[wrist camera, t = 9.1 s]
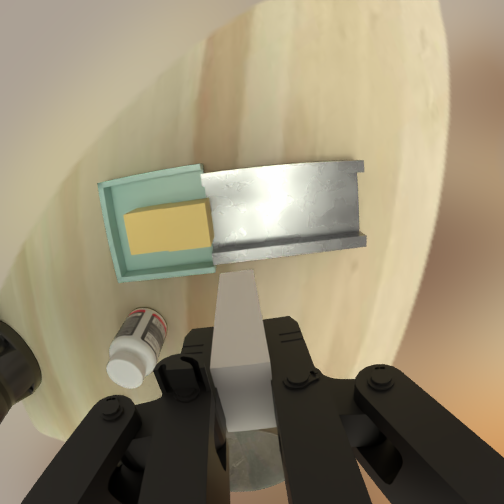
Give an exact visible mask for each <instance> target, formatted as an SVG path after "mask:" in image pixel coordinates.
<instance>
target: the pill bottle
mask: <svg viewBox="0 0 504 504" xmlns="http://www.w3.org/2000/svg"><path fill="white" fill-rule="evenodd" d="M166 334H167V325H166V323H165V321H164V319H163V318H162V316H161V315H160V314H158V313H157V312H156V311H154V310H151V309H148V308H138V309H135V310H133V311H132V312H131V313H130V314H129V315H128V317H127V318H126V320H125V322H124V323H123V325H122V327H121V328H120V330H119V331H118V333H117V335H116V336H115V338H114V340H113V341H112V343H111V345H110V348H109V356H110V359H109V362H108V364H107V373H108V375H109V377H110V378H111V380H112V381H114V382H115V383H116V384H118V385H120V386H122V387H124V388H130V389H131V388H137V387H139V386H140V385H141V384H142V382H143V380H144V377H145V376H147V375H149V374H150V373H151V372H152V371H153V369H154V368H155V366H156V363H157V360H158V357H159V354H160V351H161V348H162V346H163V343H164V340H165V337H166Z"/></svg>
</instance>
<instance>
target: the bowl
mask: <svg viewBox="0 0 504 504" xmlns="http://www.w3.org/2000/svg"><path fill="white" fill-rule="evenodd" d="M226 438H227V441H228V445H229V473H230V491H231V492H232V491H233V492H244V491H255V490H260V489H264V488H268V487H271V486H274V485H276V484H279V483H281V482H283V481H285V478H284V472H283V466H282V460H281V454H280V450H279V441H278V432H277V427H273V428H266V429H258V430H249V431H238V432H228V430H227V427H226Z"/></svg>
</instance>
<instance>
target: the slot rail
mask: <svg viewBox="0 0 504 504" xmlns="http://www.w3.org/2000/svg"><path fill="white" fill-rule="evenodd" d="M357 172H364V160H342V161H321V162H305V163H291V164H279V165H268V166H258V167H249V168H240V169H231V170H223V171H216V172H208V173H203V174H200V175H201V182H202V187H203V186H205V194H206V198H209V200H210V207H211V215H212V222H213V229H214V239H213V242H212V243H213V251H212V259H213V265H218V264H227V263H235V262H244V261H252V260H261V259H269V258H277V257H286V256H294V255H302V254H310V253H318V252H326V251H334V250H342V249H350V248H358V247H366V235H365V234H363V233H362V232H360V231H359V204H358V182H357Z"/></svg>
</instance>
